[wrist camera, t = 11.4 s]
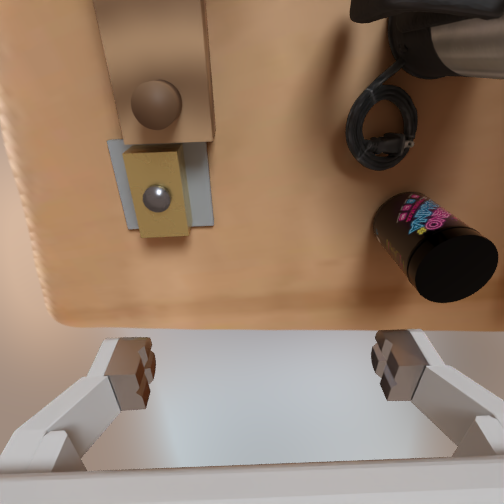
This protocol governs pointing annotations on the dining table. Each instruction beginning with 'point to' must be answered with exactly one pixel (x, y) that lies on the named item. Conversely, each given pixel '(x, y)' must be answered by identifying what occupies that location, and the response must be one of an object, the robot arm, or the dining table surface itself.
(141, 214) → the lever cap
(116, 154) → the felt pad
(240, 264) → the dining table surface
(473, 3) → the milk frother
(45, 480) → the robot arm
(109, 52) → the body
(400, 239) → the supplement container
